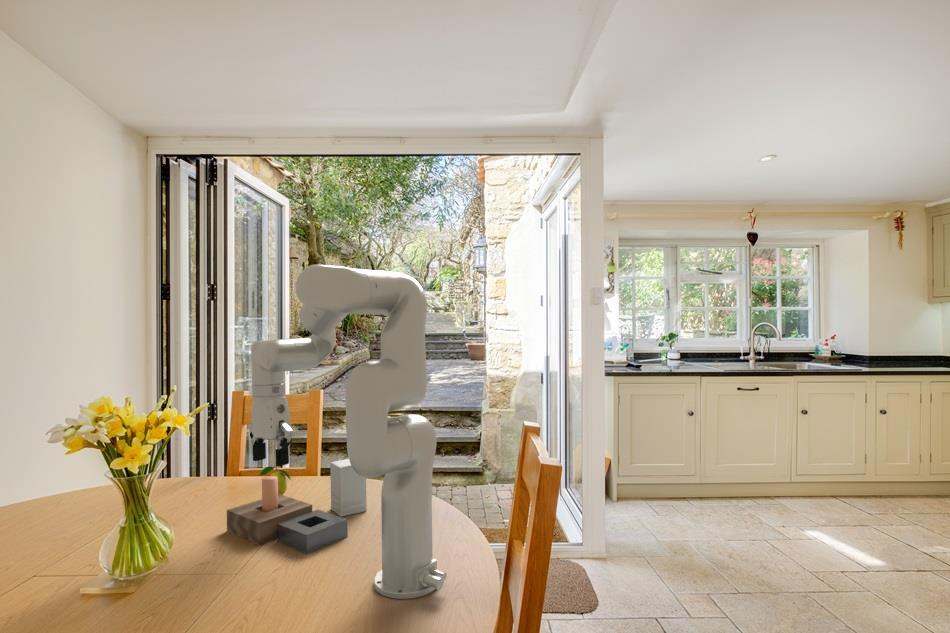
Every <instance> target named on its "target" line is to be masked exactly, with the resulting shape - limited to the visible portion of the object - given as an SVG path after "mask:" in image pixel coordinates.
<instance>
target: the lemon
mask: <svg viewBox="0 0 950 633" xmlns="http://www.w3.org/2000/svg"><path fill="white" fill-rule="evenodd" d="M274 469H275V471H274V472H273V473H271V472H272V471H273V470H274ZM269 473H271V474H270V475H269V476H276V477H278V494H280V495H284V494H285V493H286V491H287V488H288V482H287V478H288V479H289V480H290V481H291V477H290V476H291V475H289V473H288V472H287V471H285V470H284V469H278V466H276V465H275V466H266V467H264V468H263V469H262V470H261V471H260V472H259V476H265V475H267V474H269Z"/></svg>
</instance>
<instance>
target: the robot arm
mask: <svg viewBox="0 0 950 633" xmlns="http://www.w3.org/2000/svg"><path fill="white" fill-rule="evenodd" d="M294 287H295V295H296V297H297V299H298V301H299V302H300V303H301V304H303V305H302V306H301V307H300V309H299V311H298V312H299V313H298V317H299V321H300V323H301V324H302V326H303V328H305V330H307V331H308V332H309V333H310V334H311V335H310V336H308V337H304V338H303V337H299V338H282V339H281V338H277V339H269V340H256V341H254V342H253V343H252V344H251V347H250V352H251V353H250V358H251V362H250V363H251V398H252V405H251V406H252V407H251V423H249V424H248V431H249V437H250V439H251V440H250V443H251V446H252V461H253V462H258V461H262V460H266V458H267V449H266V448H267V446H266V445H267V444H266V442H265V440H267V441H273V443H274V445H275V446H276V448H275V466H277V467H282V466H285V465H289V464H290V450H289V449H290V447H291V443H292V441H293V435H294V430H293V429H292V428H291V416H290V407H289V401H288V397H287V395H286V372H290V371H301V370H309V369H313V368H315V367H319V365H320V364H322V363H323V361H325V360H326V359H327V357H329V356H330V354H331V353H332V352H333V350H334V348H335V344H336V337H337V334H336V333H337V332H336V328H337V327H338V326H339V325H340V324H341V322H342V321H343V320H344V319H346V318H347V316H348V315H388V317H387V319H386V321H385V323H384V325H383V328H382V329H381V334H380V339H379V342H380V358H379V360H377V359H376V360H369V361H365V362H362V363H360V364H358V365H357V366H356V367H354V368H353V369H352V370H351V372H350V374H349V376H348V378H347V381H346V386H345V394H344V395H345V398H344V400H345V401H344V402H345V426H346V428H345V429H346V432H345V433H346V449H347V450H346V451H347V457H348V459H349V461H350V464H351V466H352V468H353V469H354V471H355V472H356V473H357V474H359V475H360V476H362V477H366V479H371V478H372V479H373V478H377V477H382V476H384V478H383V481H382V486H381V493H380V494H381V500H380V501H381V504H380V506H381V507H380V508H381V510H380V511H381V565H382V566H381V570H379V571H377V573H376V574H375V575H374V577H373V587H374V590H375V591H376V592H377V593H379V594H380V595H381V596H383V597H387V598H392V599H398V600H409V599H415V598H419V597H423V596H426V595H428V594H430V593H432V592H434V591H435V590H438V591H440V590H441V589H443V586H444V584H445V581H446V579H447V572H444V571H442V570H439V569H438V560H437V559H436V558H433V556H434V555H433V470H434V462H435V457H436V451H437V433H436V430H435V427H434V426H433V423H432V422H431V421H430V420H429V419H427V418H426V417H425V416H423V415H420V414H415V413H414V414H413V413H410V414H409V413H408V414H401V415H398V416H396V415H395V416H393V417H388V416H389V413H390V412H394V411H399V410H404V409H409V408H412V407H415V406H417V405H420V404H421V403H422V402H423V400H425V397H426V394H427V388H428V386H427V384H428V383H427V382H428V380H427V379H428V378H427V376H428V375H427V353H426V352H427V349H426V323H427V322H426V321H427V310H428V308H427V306H428V305H427V297H426V294H425V290H424V289H423V287H422V285H421V284H420V283H419V282H418V281H417V280H416V279H415V278H413V277H411V276H410V275H407V274H404V273H401V272H397V271H388V270H379V269H378V270H373V269H363V268H362V269H361V268H351V267H347V266H342V265H341V266H339V265H329V264H310V265H308V266H306V267H304V269H302V271H300V273H299V274H298V276H297V279H296V281H295V286H294Z"/></svg>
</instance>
